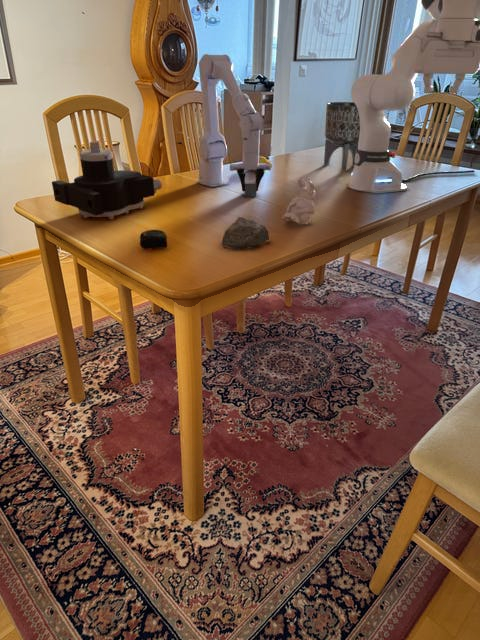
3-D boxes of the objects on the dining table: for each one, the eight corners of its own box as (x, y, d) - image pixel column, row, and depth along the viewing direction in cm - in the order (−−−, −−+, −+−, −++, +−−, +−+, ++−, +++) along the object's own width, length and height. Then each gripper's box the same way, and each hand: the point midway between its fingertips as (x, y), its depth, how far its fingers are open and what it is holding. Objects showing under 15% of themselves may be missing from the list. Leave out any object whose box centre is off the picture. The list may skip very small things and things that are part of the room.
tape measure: (140, 252, 115) (139, 238, 113) (141, 242, 120) (140, 229, 119) (167, 251, 116) (166, 237, 114) (167, 241, 121) (166, 228, 120)
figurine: (321, 218, 142) (325, 177, 135) (298, 231, 131) (302, 187, 125) (298, 213, 146) (301, 173, 139) (274, 225, 135) (277, 182, 128)
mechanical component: (44, 141, 131) (128, 131, 151) (57, 212, 142) (134, 194, 162) (86, 151, 119) (172, 139, 139) (97, 228, 130) (175, 206, 150)
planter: (313, 167, 208) (319, 103, 195) (331, 160, 222) (338, 101, 209) (353, 173, 199) (362, 107, 185) (369, 166, 213) (379, 104, 199)
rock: (255, 233, 128) (256, 211, 124) (276, 242, 122) (278, 219, 119) (217, 244, 120) (217, 220, 117) (239, 254, 115) (239, 230, 111)
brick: (244, 197, 163) (245, 183, 160) (243, 193, 166) (243, 180, 164) (256, 196, 163) (256, 183, 161) (254, 193, 167) (254, 180, 164)
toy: (243, 164, 194) (247, 156, 207) (248, 178, 197) (252, 170, 210) (268, 155, 191) (270, 148, 204) (272, 170, 194) (275, 162, 206)
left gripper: (231, 153, 153) (231, 194, 159) (273, 153, 155) (271, 193, 162) (229, 149, 159) (228, 189, 165) (269, 149, 161) (267, 188, 168)
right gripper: (433, 31, 110) (420, 94, 117) (491, 34, 118) (476, 93, 125) (414, 31, 115) (403, 92, 122) (471, 35, 123) (458, 92, 130)
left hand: (249, 190), depth 164 cm, fingers closed on brick, 4 cm apart
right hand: (440, 93), depth 124 cm, fingers open, 8 cm apart
